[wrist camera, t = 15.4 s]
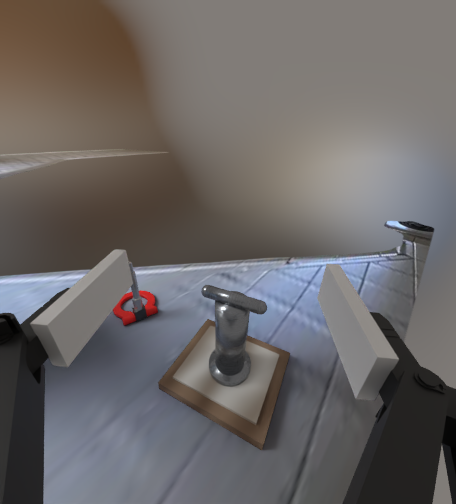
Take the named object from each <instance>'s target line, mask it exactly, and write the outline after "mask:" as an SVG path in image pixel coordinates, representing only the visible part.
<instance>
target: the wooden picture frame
mask: <svg viewBox="0 0 456 504" xmlns="http://www.w3.org/2000/svg"><path fill="white" fill-rule="evenodd" d="M214 349H215V322H214V321H211V320H209V319H208V320H207V321H206V322H205V323H204V325H203V326H202V327H201V328H200V330H199V331H198V332H197V334H196V335H195V336H194V337H193V339H192V340H191V341H190V343H189V344H188V345H187V346H186V348H185V349H184V350H183V352H182V353H181V354H180V355H179V357H178V358H177V359H176V361H175V362H174V363H173V364H172V366H171V367H170V368H169V370H168V371H167V372H166V373H165V375H164V376H163V377H162V379H161V380H160V381H159V382H158V384H159V389H161V390H162V391H164V392H166V393H167V394H169V395H171V396H172V397H174V398H176V399H177V400H179V401H181V402H182V403H184V404H186V405H187V406H189V407H191V408H192V409H194V410H196V411H197V412H199V413H201V414H202V415H204V416H206V417H207V418H209V419H211V420H212V421H214V422H216V423H217V424H219V425H221V426H222V427H224V428H226V429H227V430H229V431H231V432H232V433H234V434H236V435H237V436H239V437H240V438H242V439H244V440H245V441H247V442H249V443H250V444H252V445H254V446H255V447H257V448H259V449H260V450H262V449H263V445H264V442H265V438H266V435H267V431H268V428H269V425H270V421H271V418H272V414H273V411H274V407H275V404H276V401H277V397H278V394H279V390H280V387H281V383H282V380H283V377H284V373H285V370H286V366H287V363H288V359H289V356H290V353H289V352H286V351H284V350H281V349H279V348H277V347H274V346H272V345H269V344H267V343H264V342H262V341H260V340H257V339H255V338H252V337H250V336H248V335H247V342H246V352H247V353H248V354H249V357H250V360H251V368H250V373H249V376H248V378H247V379H246V380H245V381H244V382H243V383H241V384H240V385H237V386H233V387H227V386H223V385H221V384H219V383H217V382H216V381H215V380H214V379H213V378H212V376H211V374H210V371H209V358H210V355H211V353H212V352H213V351H214Z"/></svg>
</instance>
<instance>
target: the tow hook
mask: <svg viewBox="0 0 456 504" xmlns="http://www.w3.org/2000/svg"><path fill="white" fill-rule="evenodd" d="M128 263H129V267H130V272H131V276H132V281H133V284H132V286H131V290H132V292H130V293H127V294H125V295H124V296H123V297H122V298H121V300H120V301H119V302H118V304H117V305H116V306H115V307H114V309H113V312H114V314H115V315H116V316H117V317H119V318H122V321H123V324H124V326H125V325H127V324H130V323H132V322H135V321H139V320H141V319H144V318H146V317H147V316H150V315H152V314H155V313H157V312H158V310H157V307H156V306H154V305H155V297H154V295H153V294H151V293H150V292H147V291H139V290H138V285H137V280H136V275H135V272H134V271H133V267H132V262H128ZM141 297H143V298H146V299H147V300H148V302H147V304H146V305H145V306H144V305H143V303H142V298H141ZM131 298H133V299H132V301H133V305H134V308H132V309H133V312H131V311H130V312H129V311H124V310H122V309H121V306H122V304H123V303H124V302H125V301H127V300H129V299H131ZM133 313H134V314H133Z"/></svg>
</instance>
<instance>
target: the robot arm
mask: <svg viewBox="0 0 456 504" xmlns="http://www.w3.org/2000/svg"><path fill="white" fill-rule="evenodd" d="M132 284H133V281H132V276H131V272H130V267H129V263H128V258H127V254H126V251H125V250H114V251H112V252H111V253H110V254H109V255H108V256H107V257H106V258H104V259H103V260H102V261H101V262H100V263H99V264H98V265H97V266H95V267H94V268H93V269H92V270H91V271H90V272H88V273H87V274H86V275H85V276H84V277H83V278H82V279H80V280H79V281H78V282H77V283H76V284H75V285H74V286H72V287H71V288H67V289H65V290H63V291H61V292H59V293H57V294H56V295H55V296H54V297H53V298H51V299H50V301H48V302H47V303H45V304H44V305H43V307H41V308H40V309H38V310H37V311H36V312H35V313H34V314H32V315H31V316H30V317H29V318H28V319H26V320H25V321H24V322H23V323H22V324H19V322H18V321H17V319H16V317H15V316H14V314H11V313H2V314H0V504H43V480H44V398H45V368H44V365H43V363H44V362H45V361H46V360H47V359H48V358H49V359H50V361H51V363H52V365H53V366H61V367H69V365H70V364H71V363H72V362H73V360H74V359H75V358H76V356H77V355H78V354H79V353H80V351H81V350H82V349H83V347H84V346H85V345H86V344H87V342H88V341H89V340H90V338H91V337H92V336H93V335H94V333H95V332H96V331H97V329H98V328H99V327H100V326H101V324H102V323H103V322H104V320H105V319H106V318H107V316H108V315H109V314H110V313H111V311H112V310H113V309H114V307H115V306H116V305H117V304H118V302H119V301H120V300H121V298H122V297H123V296H124V295H125V293H126V292H127V291H128V289H129V288H130V287H131V286H132ZM318 301H319V303H320V306H321V309H322V311H323V314H324V317H325V319H326V322H327V325H328V327H329V330H330V332H331V335H332V338H333V340H334V343H335V346H336V348H337V351H338V354H339V356H340V359H341V362H342V364H343V367H344V369H345V372H346V375H347V377H348V380H349V383H350V385H351V388H352V391H353V393H354V396H355V398H356V399H360V400H369V401H375V399H376V397H377V396H378V394H379V393H380V395H381V398H382V400H383V402H384V404H383V405H382V407H381V408H380V410H379V411H378V413H377V415H376V416H375V417H377V419H376V422H375V424H374V427H373V429H372V432H371V434H370V437H369V439H368V442H367V444H366V447H365V449H364V452H363V454H362V457H361V459H360V461H359V464H358V466H357V469H356V471H355V474H354V476H353V479H352V481H351V484H350V486H349V489H348V491H347V494H346V496H345V499H344V501H343V504H432V502H433V495H434V489H435V483H436V477H437V470H438V463H439V458H440V451H441V445H442V446H443V451H444V457H445V463H446V468H447V475H448V480H449V486H450V492H451V498H452V504H456V389H454V388H451V387H449V386H446V384H445V383H444V382H443V381H442V380H441V379H440V378H439V377H438V376H437V375H436V374H434V373H433V372H431V371H430V370H428V369H426V368H423V367H421V366H420V365H419V364H418V362H417V361H416V359H415V358H414V356H413V355H412V354H411V352H410V351H409V349H408V348H407V347H406V345H405V344H404V342H403V341H402V339H400V337H399V335H398V334H397V332H396V331H395V329H394V328H393V327H392V325H391V324H390V322H389V321H388V320H387V319H386V318H384V317H383V316H382V315H381V314H380V313H373V312H369V311H368V309H367V308H366V306H365V304H364V303H363V301H362V300H361V298H360V297H359V295H358V293H357V292H356V290H355V289H354V287H353V285H352V284H351V282H350V281H349V279H348V278H347V276H346V274H345V273H344V271H343V270H342V268H341V267H340V265H336V264H327V265H326V269H325V272H324V276H323V280H322V283H321V287H320V291H319V294H318Z"/></svg>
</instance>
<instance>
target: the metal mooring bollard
mask: <svg viewBox="0 0 456 504" xmlns="http://www.w3.org/2000/svg"><path fill="white" fill-rule="evenodd" d="M202 295H203V296H204V297H206V298H209V299H213V300H215V349H214V351H213V352H212V353H211V355H210V358H209V371H210V374H211V376H212V378H213V379H214V380H215V381H216V382H217V383H219V384H221V385H223V386H227V387H233V386H237V385H240V384H241V383H243V382H244V381H245V380H246V379H247V378H248V376H249V373H250V368H251V360H250V357H249V354H248V353H247V352H246V342H247V332H248V322H249V313H250V312H254V313H257V314H264V313H265V312H266V310H267V305H266V303H265V302H263V301H261V300H258V299H254V298H251V297H247V296H246V295H244V294H242V293H240V292H236V291H227V290H224V289H220V288H217V287H214V286H210V285H205V286H204V287H203V288H202Z"/></svg>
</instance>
